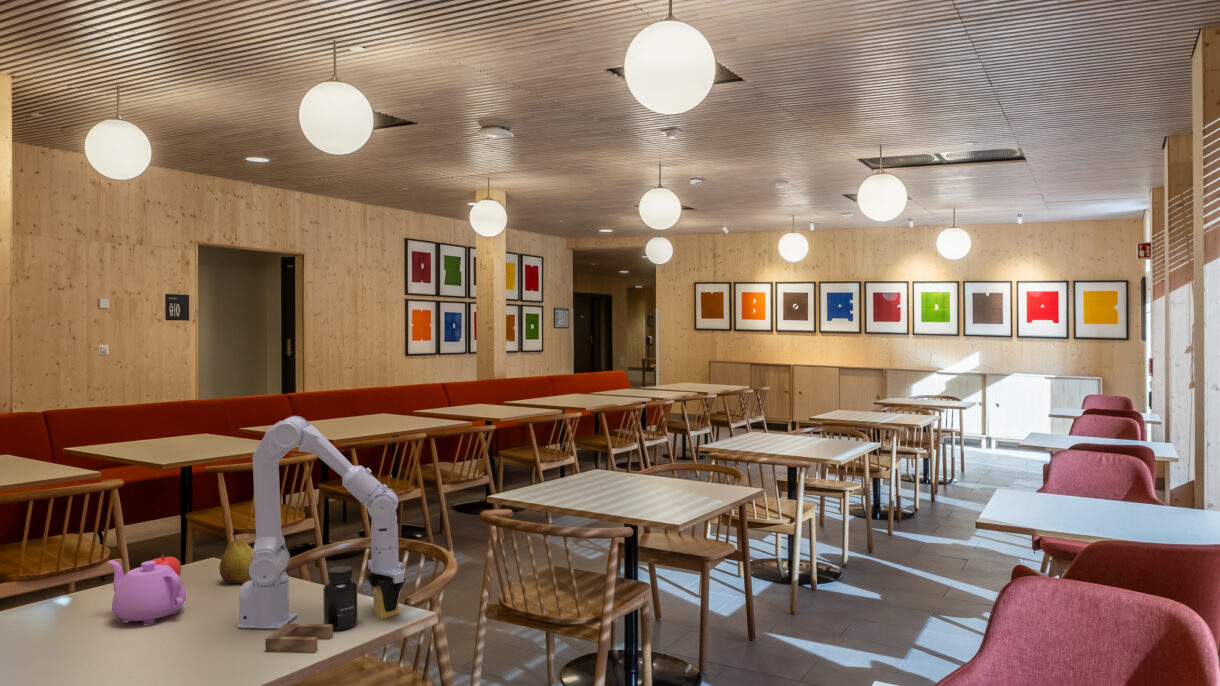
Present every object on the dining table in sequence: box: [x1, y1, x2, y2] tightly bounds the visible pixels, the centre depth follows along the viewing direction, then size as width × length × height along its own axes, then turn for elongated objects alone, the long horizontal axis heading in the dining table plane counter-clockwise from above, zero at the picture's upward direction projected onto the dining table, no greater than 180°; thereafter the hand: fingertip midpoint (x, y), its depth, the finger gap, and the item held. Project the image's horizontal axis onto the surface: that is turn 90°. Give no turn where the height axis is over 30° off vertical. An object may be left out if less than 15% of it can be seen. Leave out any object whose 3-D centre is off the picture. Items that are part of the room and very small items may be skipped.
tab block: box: [372, 586, 400, 620], centre depth 177 cm, size 4×4×6 cm
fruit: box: [219, 532, 254, 585], centre depth 202 cm, size 9×9×12 cm
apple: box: [150, 553, 182, 578], centre depth 199 cm, size 8×8×8 cm
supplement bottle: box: [322, 565, 359, 632], centre depth 170 cm, size 7×7×12 cm
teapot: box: [108, 559, 187, 625], centre depth 178 cm, size 20×14×12 cm
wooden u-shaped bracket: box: [264, 623, 334, 654], centre depth 161 cm, size 10×8×2 cm
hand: (386, 607), depth 177 cm, fingers closed on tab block, 4 cm apart
